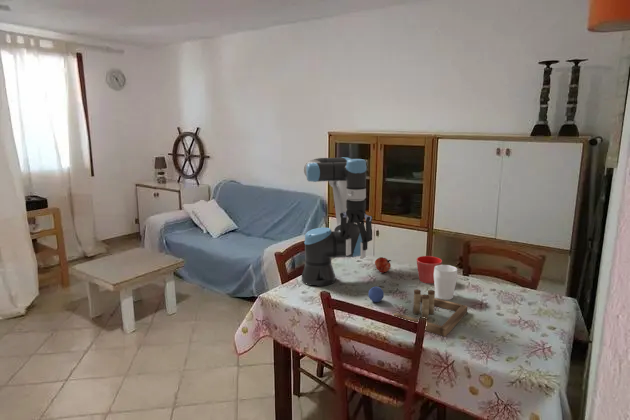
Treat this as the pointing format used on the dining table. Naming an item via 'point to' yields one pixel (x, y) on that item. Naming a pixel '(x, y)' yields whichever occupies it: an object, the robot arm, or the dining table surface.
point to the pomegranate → (382, 264)
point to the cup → (445, 281)
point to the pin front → (416, 301)
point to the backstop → (449, 324)
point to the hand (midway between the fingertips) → (355, 256)
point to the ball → (376, 294)
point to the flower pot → (427, 268)
